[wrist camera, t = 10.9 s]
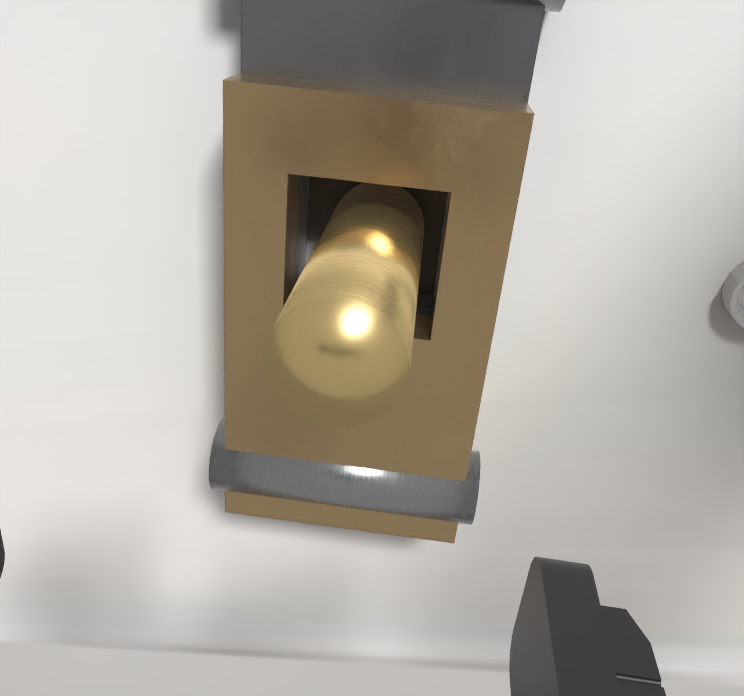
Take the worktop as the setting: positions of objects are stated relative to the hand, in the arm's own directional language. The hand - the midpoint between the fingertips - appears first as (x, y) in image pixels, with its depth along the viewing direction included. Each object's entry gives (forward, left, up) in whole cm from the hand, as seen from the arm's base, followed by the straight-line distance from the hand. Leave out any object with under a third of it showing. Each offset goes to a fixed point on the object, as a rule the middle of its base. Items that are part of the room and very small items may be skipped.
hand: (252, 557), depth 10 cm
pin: (0, 0, -18) cm, 18 cm away
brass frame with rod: (0, 0, -18) cm, 18 cm away
